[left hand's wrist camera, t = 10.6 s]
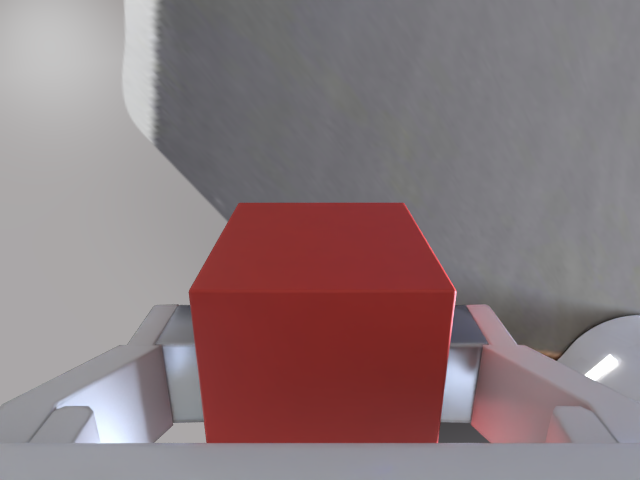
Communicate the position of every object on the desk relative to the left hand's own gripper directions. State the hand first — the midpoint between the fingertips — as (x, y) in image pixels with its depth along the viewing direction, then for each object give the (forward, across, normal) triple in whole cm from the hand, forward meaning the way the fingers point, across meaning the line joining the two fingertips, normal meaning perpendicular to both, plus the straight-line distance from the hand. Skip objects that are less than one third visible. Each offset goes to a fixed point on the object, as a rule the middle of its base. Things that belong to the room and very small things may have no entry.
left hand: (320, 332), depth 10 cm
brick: (+2, 0, 0) cm, 2 cm away
